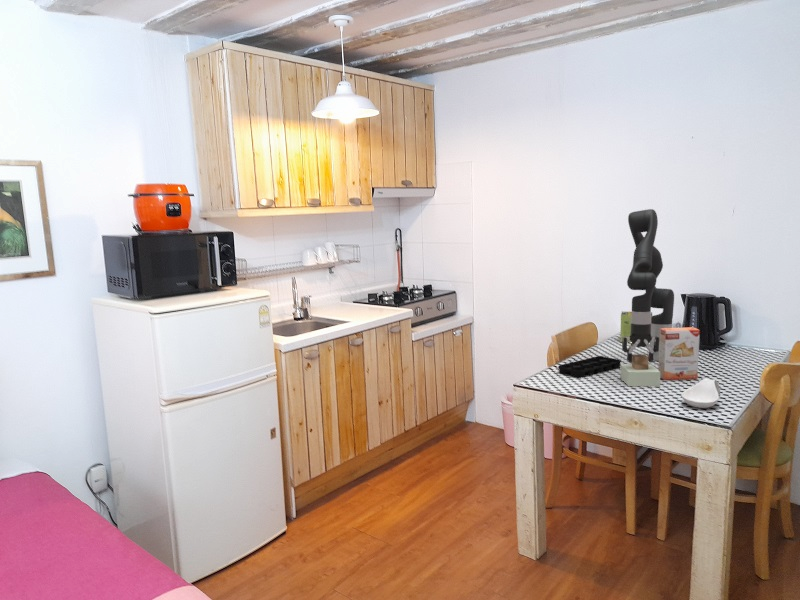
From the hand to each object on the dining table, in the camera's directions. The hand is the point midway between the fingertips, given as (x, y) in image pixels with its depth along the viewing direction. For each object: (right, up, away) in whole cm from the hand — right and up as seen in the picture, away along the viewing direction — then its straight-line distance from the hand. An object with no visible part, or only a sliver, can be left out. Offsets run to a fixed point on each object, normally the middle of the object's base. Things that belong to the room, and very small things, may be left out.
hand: (640, 361), depth 231 cm
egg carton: (-13, -7, +22) cm, 26 cm away
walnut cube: (0, -2, 0) cm, 3 cm away
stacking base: (0, -8, +1) cm, 9 cm away
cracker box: (+18, -7, +5) cm, 20 cm away
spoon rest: (+13, -12, -24) cm, 30 cm away
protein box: (+29, +3, +73) cm, 78 cm away
